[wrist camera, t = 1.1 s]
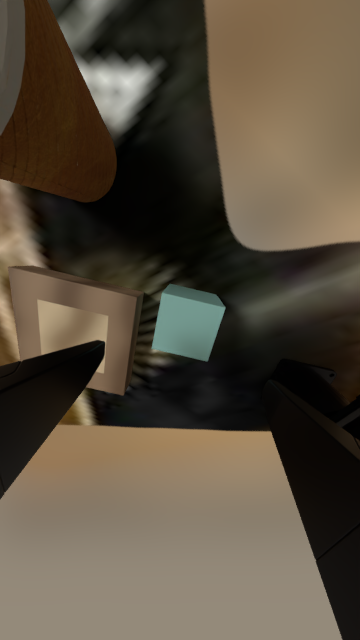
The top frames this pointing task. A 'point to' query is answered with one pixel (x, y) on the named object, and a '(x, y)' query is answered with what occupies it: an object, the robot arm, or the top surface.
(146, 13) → the top surface
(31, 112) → the disposable coffee cup
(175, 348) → the teal cube
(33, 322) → the walnut base
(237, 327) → the top surface
